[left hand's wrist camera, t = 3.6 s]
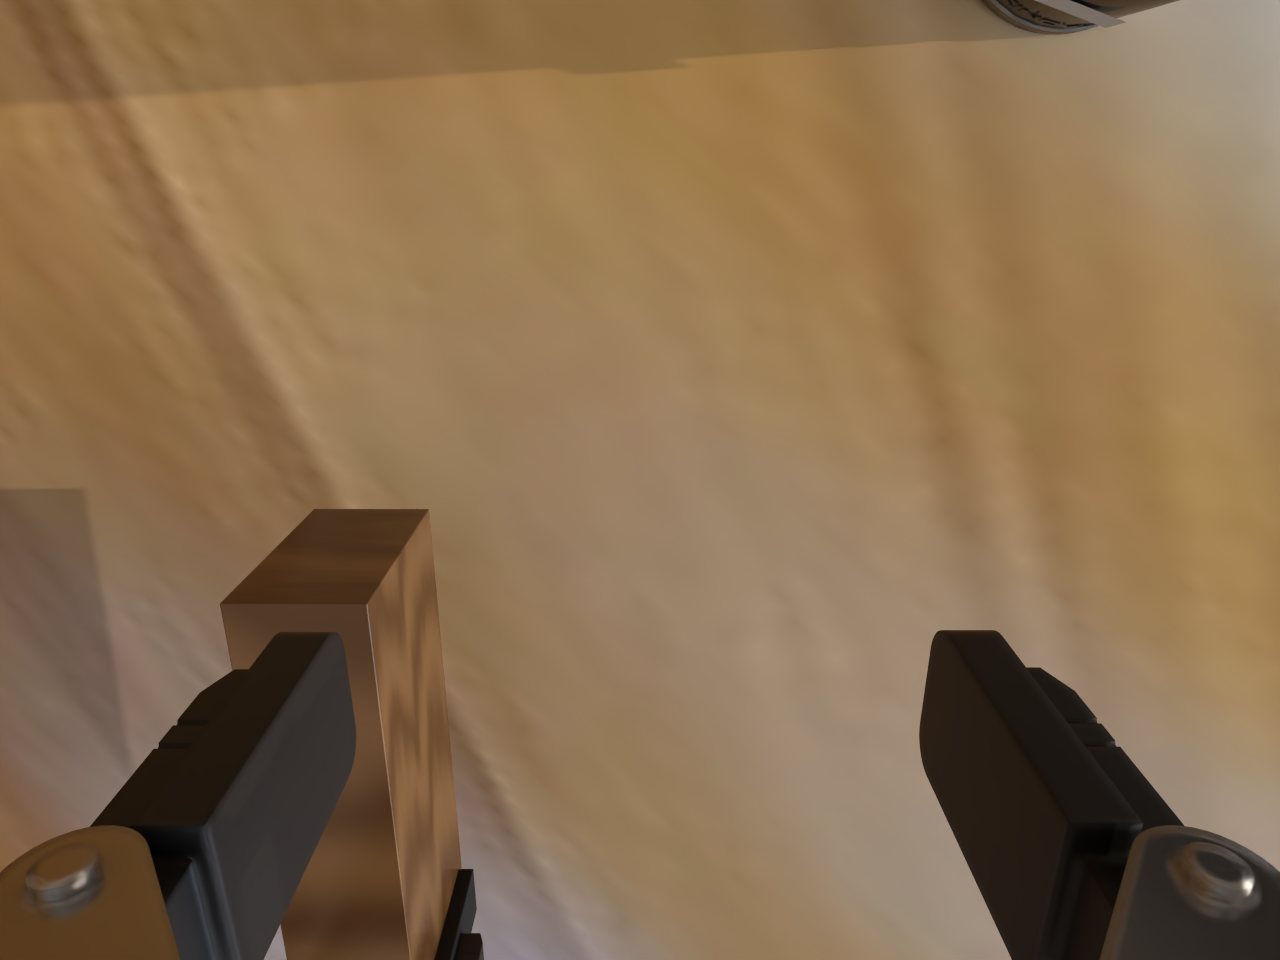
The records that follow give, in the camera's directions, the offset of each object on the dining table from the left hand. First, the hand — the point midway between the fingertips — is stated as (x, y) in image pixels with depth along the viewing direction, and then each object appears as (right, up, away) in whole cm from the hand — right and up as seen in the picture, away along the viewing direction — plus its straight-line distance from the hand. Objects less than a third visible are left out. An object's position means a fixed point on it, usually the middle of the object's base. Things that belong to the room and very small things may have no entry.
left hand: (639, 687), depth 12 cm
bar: (-12, -10, +30) cm, 34 cm away
